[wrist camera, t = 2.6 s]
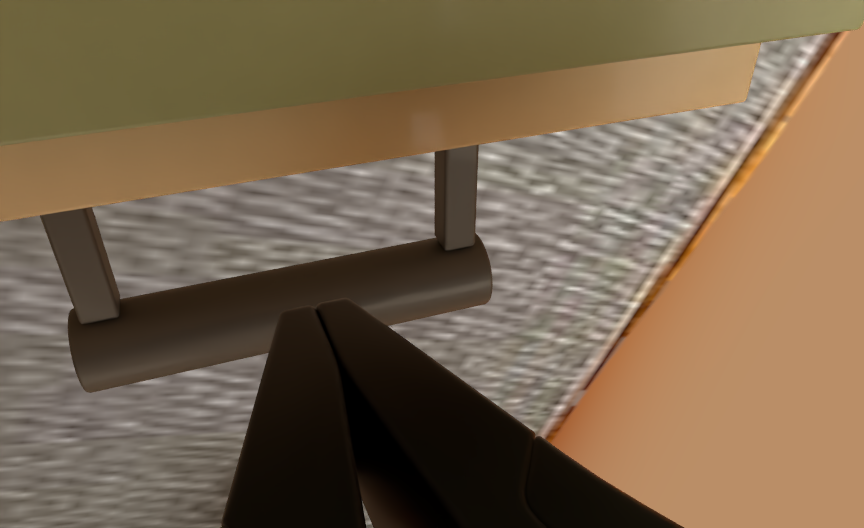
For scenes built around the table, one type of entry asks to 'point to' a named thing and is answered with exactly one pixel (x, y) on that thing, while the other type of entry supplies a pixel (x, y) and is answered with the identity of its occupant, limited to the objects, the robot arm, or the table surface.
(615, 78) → the drawer
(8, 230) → the table surface
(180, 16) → the cabinet
